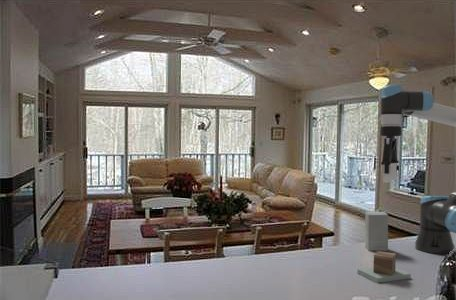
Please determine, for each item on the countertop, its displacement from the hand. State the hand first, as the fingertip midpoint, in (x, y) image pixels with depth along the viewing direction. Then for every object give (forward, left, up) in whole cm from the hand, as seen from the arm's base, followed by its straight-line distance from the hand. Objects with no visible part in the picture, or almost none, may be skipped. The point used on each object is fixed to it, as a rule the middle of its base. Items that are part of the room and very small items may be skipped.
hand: (389, 180), depth 162 cm
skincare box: (-6, -14, -31) cm, 34 cm away
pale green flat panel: (+15, +15, -31) cm, 37 cm away
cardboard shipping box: (+15, +15, -29) cm, 36 cm away
